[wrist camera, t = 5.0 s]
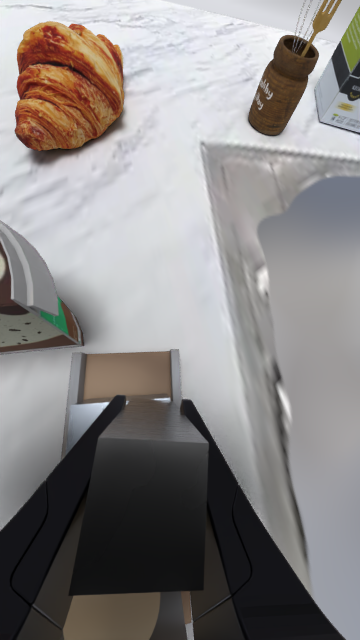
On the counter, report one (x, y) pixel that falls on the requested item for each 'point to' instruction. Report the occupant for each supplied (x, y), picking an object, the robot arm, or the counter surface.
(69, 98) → the croissant
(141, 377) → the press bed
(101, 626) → the nut
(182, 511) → the block
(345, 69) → the tea box
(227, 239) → the counter surface
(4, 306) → the food container
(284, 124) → the utensil holder
